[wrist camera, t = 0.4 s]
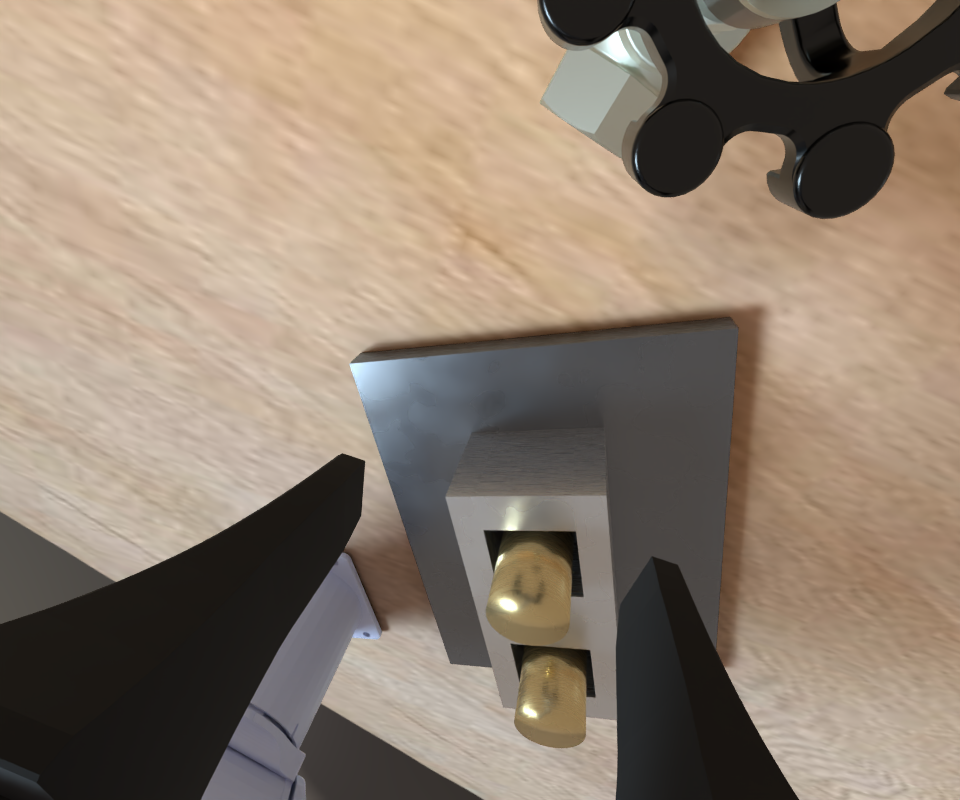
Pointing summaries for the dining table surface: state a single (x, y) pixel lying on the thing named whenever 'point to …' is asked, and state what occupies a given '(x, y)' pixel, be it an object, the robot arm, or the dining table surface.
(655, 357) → the plate
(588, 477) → the housing
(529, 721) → the pin
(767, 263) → the dining table surface
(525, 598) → the pin
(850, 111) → the valve
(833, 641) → the dining table surface
